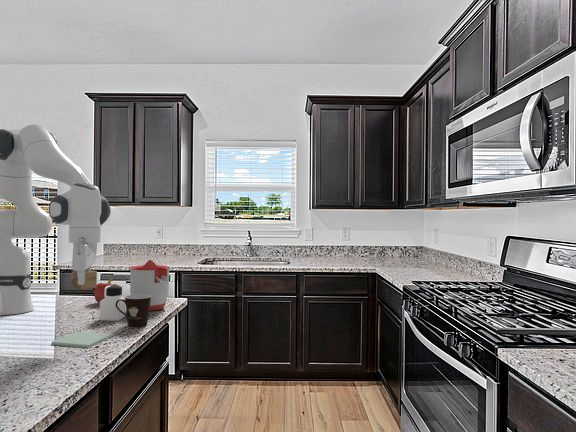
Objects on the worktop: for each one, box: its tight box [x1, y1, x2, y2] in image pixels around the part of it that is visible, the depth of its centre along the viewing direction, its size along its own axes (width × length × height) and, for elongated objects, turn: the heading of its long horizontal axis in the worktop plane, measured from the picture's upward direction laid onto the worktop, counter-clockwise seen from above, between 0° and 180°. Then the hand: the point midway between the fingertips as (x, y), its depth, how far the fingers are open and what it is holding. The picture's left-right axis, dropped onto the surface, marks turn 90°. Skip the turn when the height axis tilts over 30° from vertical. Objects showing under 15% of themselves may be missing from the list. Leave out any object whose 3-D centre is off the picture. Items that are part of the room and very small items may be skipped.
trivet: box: [51, 331, 112, 349], centre depth 138 cm, size 12×12×1 cm
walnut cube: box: [70, 269, 98, 291], centre depth 137 cm, size 5×5×5 cm
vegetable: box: [93, 278, 120, 304], centre depth 193 cm, size 11×10×10 cm
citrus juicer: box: [129, 259, 171, 312], centre depth 184 cm, size 16×17×20 cm
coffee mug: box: [116, 294, 151, 328], centre depth 158 cm, size 12×9×10 cm
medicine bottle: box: [99, 284, 126, 322], centre depth 166 cm, size 7×7×12 cm
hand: (83, 282), depth 137 cm, fingers closed on walnut cube, 7 cm apart
